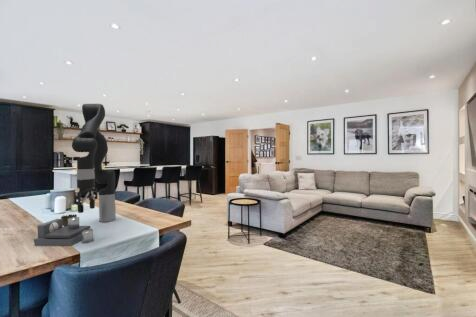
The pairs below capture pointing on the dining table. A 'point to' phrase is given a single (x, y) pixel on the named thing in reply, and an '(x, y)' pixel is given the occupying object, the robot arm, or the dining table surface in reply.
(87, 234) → the steel spacer
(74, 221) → the steel spacer
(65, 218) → the cup
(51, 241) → the scale base
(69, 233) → the pan
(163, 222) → the dining table surface
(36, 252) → the dining table surface
